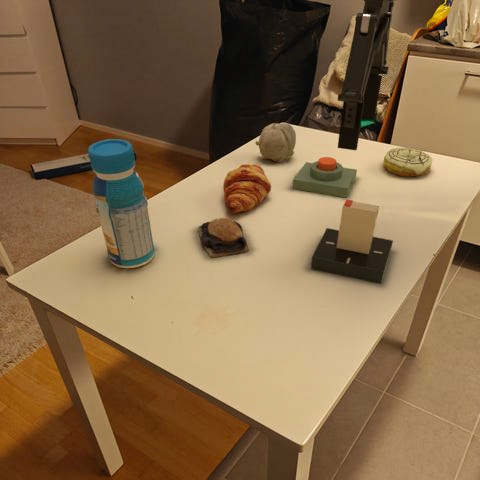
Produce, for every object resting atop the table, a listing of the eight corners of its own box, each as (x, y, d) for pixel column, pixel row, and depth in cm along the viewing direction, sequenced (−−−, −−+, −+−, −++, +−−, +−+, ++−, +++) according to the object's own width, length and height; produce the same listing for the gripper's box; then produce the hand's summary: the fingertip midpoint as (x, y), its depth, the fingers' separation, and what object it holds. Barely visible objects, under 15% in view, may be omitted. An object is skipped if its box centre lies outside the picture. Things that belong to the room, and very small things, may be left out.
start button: (337, 166, 102) (338, 158, 101) (333, 173, 100) (334, 165, 98) (319, 163, 104) (320, 155, 102) (315, 170, 101) (316, 162, 100)
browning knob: (370, 247, 80) (379, 204, 74) (368, 254, 78) (377, 210, 73) (339, 241, 81) (345, 198, 76) (336, 248, 80) (342, 204, 74)
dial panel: (390, 252, 83) (393, 239, 81) (381, 283, 76) (384, 270, 74) (325, 239, 86) (326, 227, 85) (310, 268, 80) (312, 255, 78)
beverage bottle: (143, 273, 79) (121, 160, 66) (99, 266, 81) (70, 154, 68) (163, 247, 85) (147, 139, 72) (122, 241, 87) (99, 134, 74)
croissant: (246, 188, 110) (230, 158, 106) (283, 172, 105) (268, 140, 101) (221, 231, 95) (202, 197, 91) (264, 215, 90) (245, 179, 86)
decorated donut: (426, 182, 104) (430, 166, 101) (378, 174, 107) (381, 158, 105) (431, 164, 111) (436, 149, 108) (386, 157, 114) (390, 142, 112)
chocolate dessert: (195, 229, 90) (194, 212, 88) (237, 223, 91) (236, 206, 89) (206, 259, 82) (205, 241, 80) (252, 251, 84) (252, 234, 81)
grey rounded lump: (292, 166, 117) (309, 129, 110) (277, 173, 111) (294, 134, 104) (262, 147, 119) (277, 110, 112) (246, 153, 113) (260, 114, 106)
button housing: (355, 178, 106) (358, 161, 103) (346, 197, 99) (348, 180, 96) (305, 170, 109) (306, 154, 107) (292, 188, 102) (293, 171, 100)
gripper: (372, -48, 67) (351, 105, 81) (328, -32, 50) (311, 159, 64) (426, -48, 65) (394, 110, 79) (399, -31, 48) (365, 167, 62)
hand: (357, 132), depth 72 cm, fingers open, 13 cm apart
